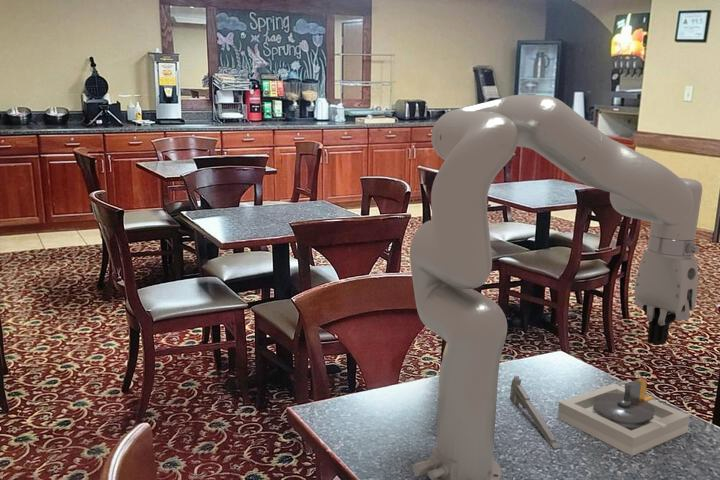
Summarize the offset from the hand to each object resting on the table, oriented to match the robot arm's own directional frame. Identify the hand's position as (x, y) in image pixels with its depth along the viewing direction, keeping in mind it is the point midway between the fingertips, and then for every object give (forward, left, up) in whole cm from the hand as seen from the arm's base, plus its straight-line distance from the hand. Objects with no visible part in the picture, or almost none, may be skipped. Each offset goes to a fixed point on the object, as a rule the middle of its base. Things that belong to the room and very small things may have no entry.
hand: (656, 343), depth 128 cm
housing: (-2, +4, -18) cm, 19 cm away
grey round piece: (-2, +4, -16) cm, 17 cm away
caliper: (-16, +14, -19) cm, 28 cm away
